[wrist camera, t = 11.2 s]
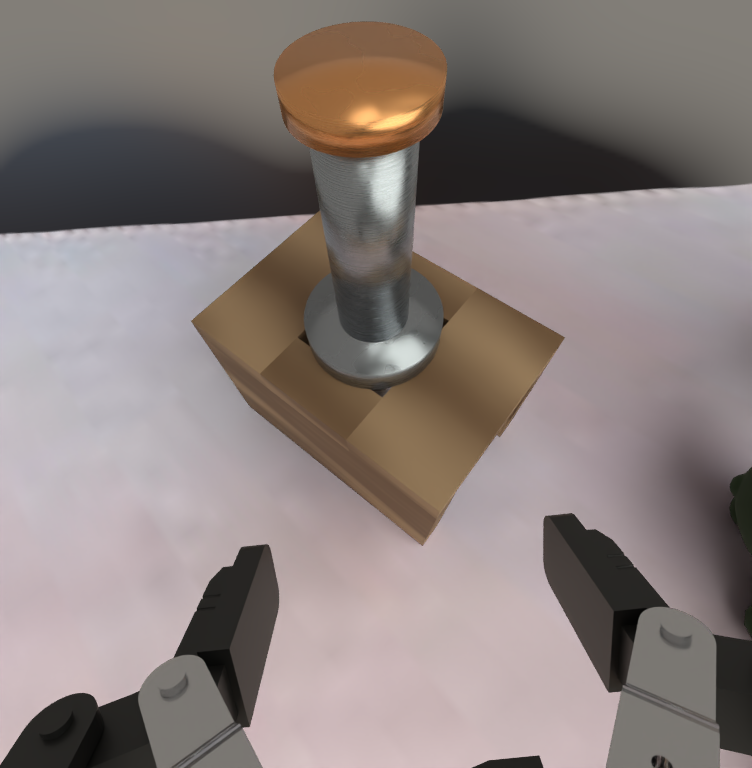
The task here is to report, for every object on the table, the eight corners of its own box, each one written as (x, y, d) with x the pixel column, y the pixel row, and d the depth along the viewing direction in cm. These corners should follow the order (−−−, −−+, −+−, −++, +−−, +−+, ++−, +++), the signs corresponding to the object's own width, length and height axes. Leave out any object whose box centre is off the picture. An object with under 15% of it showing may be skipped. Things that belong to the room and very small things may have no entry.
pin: (370, 337, 32) (345, -19, 14) (447, 388, 30) (537, 49, 12) (307, 404, 30) (178, 83, 12) (386, 465, 28) (381, 190, 10)
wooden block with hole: (344, 311, 37) (327, 203, 27) (511, 420, 32) (564, 337, 22) (249, 405, 33) (191, 321, 24) (422, 545, 28) (440, 512, 19)
